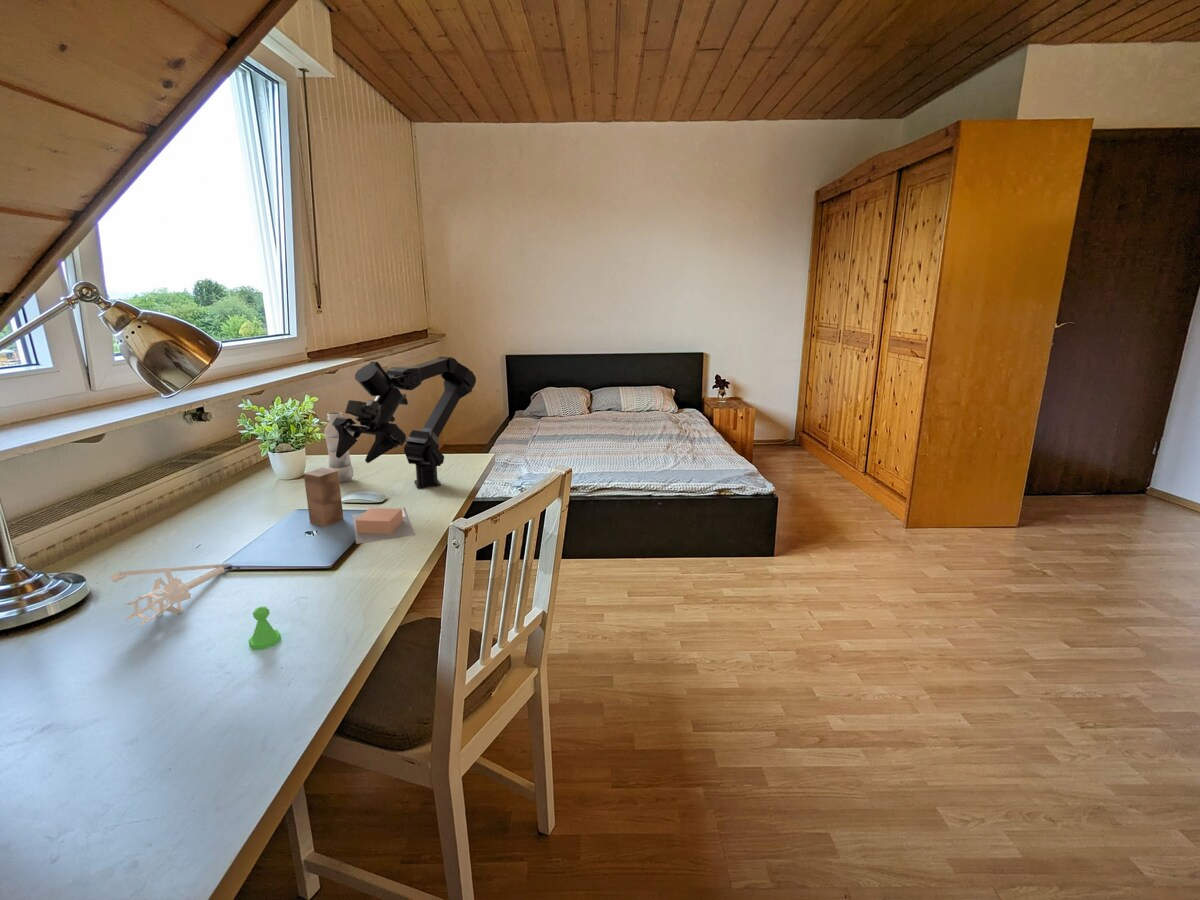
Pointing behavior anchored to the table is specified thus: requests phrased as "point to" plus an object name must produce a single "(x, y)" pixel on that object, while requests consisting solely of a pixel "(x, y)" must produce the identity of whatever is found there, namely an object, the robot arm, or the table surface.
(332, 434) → the plastic bottle
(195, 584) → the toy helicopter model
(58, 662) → the table surface
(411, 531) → the base board
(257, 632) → the game piece
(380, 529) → the plinth
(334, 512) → the pillar
